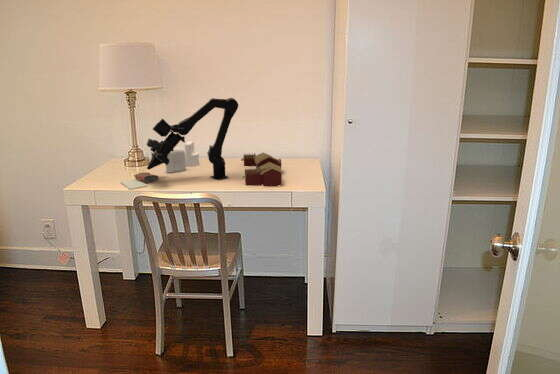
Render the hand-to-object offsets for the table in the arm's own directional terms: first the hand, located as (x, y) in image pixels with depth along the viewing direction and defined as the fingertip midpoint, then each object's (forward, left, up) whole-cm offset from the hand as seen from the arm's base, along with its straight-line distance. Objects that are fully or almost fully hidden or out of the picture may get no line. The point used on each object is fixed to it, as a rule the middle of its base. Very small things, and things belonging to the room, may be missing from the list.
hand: (147, 168), depth 221 cm
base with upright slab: (+21, -31, -7) cm, 38 cm away
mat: (+3, +6, -7) cm, 10 cm away
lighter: (+1, -2, -5) cm, 6 cm away
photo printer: (+13, -19, -7) cm, 24 cm away
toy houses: (-17, -52, -8) cm, 55 cm away
